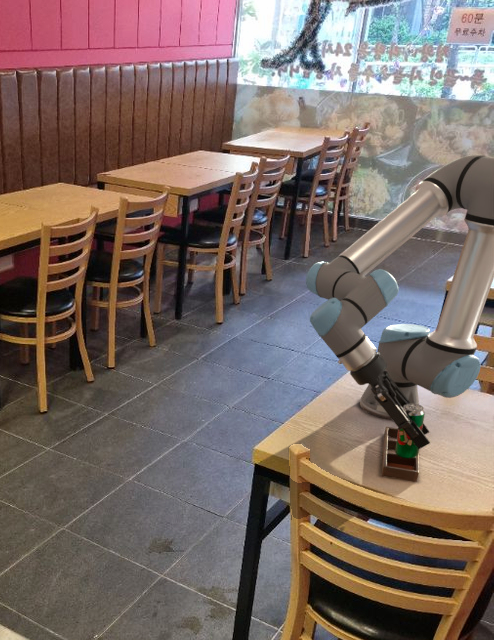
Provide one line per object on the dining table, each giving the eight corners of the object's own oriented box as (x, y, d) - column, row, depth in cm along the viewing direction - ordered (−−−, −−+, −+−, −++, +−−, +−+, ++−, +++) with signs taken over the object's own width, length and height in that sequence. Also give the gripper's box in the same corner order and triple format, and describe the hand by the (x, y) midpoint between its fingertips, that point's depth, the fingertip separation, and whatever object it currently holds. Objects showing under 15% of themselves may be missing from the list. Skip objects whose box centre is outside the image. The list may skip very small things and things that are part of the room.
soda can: (414, 449, 173) (422, 402, 167) (420, 459, 168) (428, 411, 162) (392, 450, 173) (398, 402, 167) (397, 460, 169) (404, 412, 163)
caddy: (383, 435, 189) (385, 426, 188) (415, 440, 187) (417, 431, 186) (381, 476, 171) (383, 466, 170) (416, 481, 169) (419, 472, 168)
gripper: (350, 357, 173) (409, 431, 177) (345, 386, 158) (409, 466, 162) (379, 338, 169) (438, 415, 173) (376, 366, 154) (441, 449, 158)
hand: (424, 439), depth 168 cm, fingers closed on soda can, 5 cm apart
